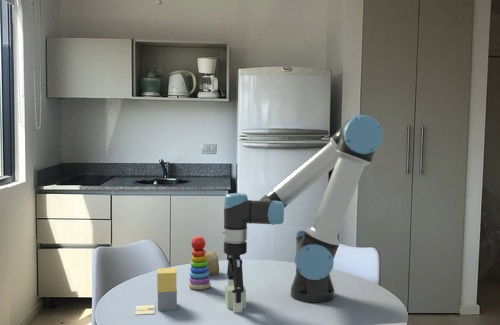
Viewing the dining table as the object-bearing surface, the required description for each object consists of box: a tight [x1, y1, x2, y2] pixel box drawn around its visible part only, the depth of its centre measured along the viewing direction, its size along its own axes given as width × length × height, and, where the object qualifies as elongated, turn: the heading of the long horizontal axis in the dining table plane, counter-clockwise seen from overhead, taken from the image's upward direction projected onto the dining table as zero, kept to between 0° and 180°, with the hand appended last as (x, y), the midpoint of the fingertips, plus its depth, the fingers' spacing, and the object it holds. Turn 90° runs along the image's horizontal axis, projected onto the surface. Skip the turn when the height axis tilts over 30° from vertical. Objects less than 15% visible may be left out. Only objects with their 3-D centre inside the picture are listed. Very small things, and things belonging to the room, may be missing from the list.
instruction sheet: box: [134, 304, 156, 316], centre depth 168 cm, size 6×8×1 cm
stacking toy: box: [188, 236, 211, 291], centre depth 192 cm, size 8×8×19 cm
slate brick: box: [157, 288, 178, 311], centre depth 171 cm, size 6×6×6 cm
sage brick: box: [224, 284, 247, 310], centre depth 173 cm, size 6×6×6 cm
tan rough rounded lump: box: [205, 250, 220, 276], centre depth 210 cm, size 10×10×10 cm
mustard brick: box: [156, 267, 177, 293], centre depth 170 cm, size 6×6×6 cm
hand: (234, 305), depth 173 cm, fingers open, 13 cm apart
